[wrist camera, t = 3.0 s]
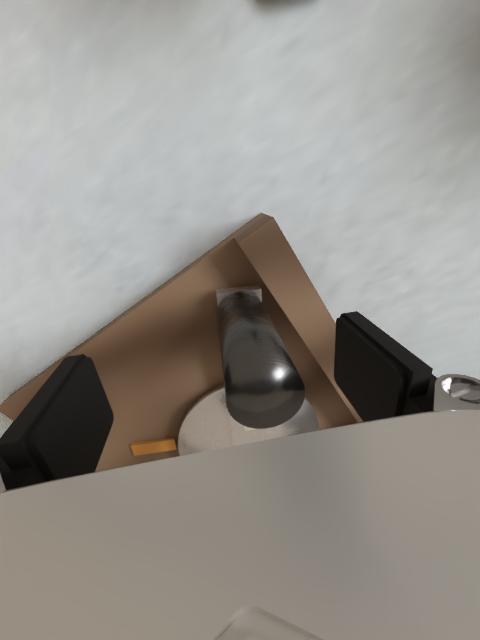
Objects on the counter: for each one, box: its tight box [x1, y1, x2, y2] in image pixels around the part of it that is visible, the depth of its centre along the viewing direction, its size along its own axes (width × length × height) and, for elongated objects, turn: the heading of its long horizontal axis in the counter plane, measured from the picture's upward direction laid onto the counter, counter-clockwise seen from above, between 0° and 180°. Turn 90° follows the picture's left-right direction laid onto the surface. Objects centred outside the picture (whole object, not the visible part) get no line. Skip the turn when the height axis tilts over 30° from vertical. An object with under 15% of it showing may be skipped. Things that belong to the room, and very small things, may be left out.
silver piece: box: [178, 285, 319, 456], centre depth 16 cm, size 16×10×8 cm, turn 4°
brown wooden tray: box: [0, 213, 363, 472], centre depth 20 cm, size 20×20×3 cm
